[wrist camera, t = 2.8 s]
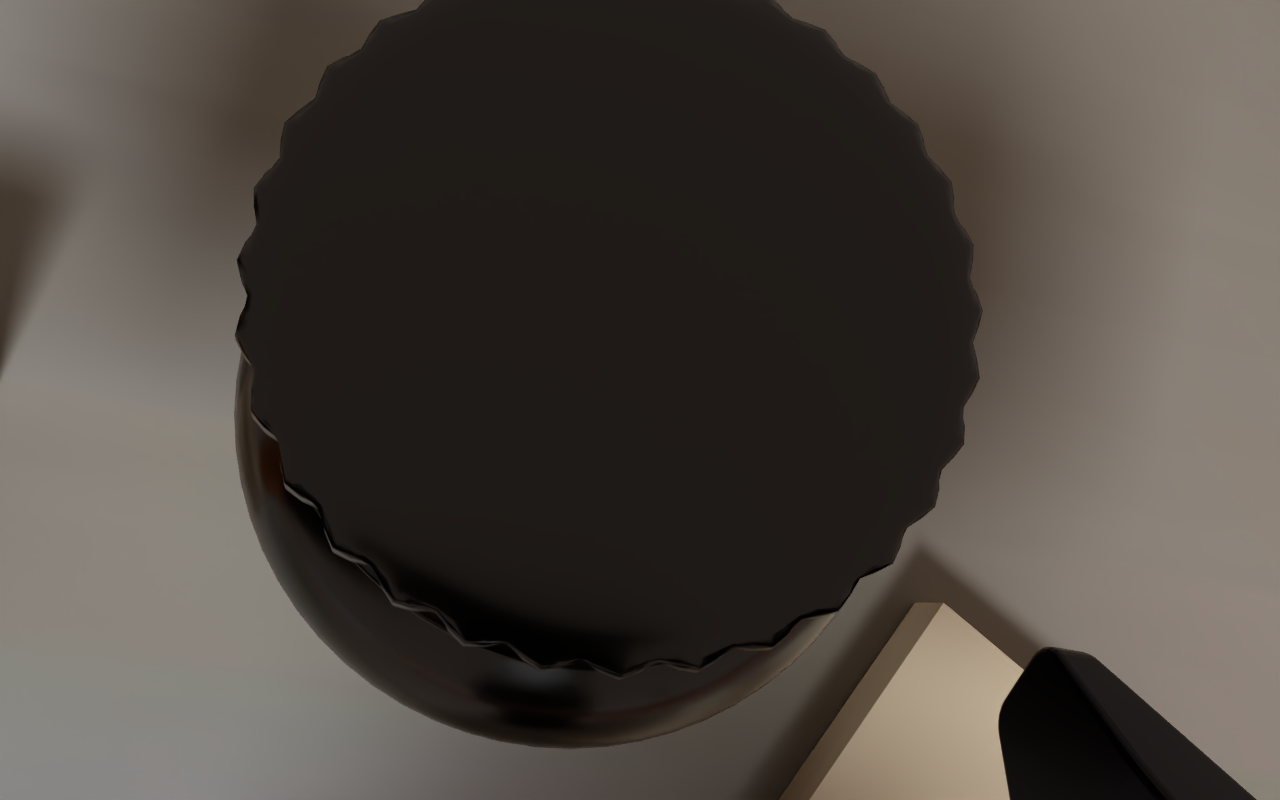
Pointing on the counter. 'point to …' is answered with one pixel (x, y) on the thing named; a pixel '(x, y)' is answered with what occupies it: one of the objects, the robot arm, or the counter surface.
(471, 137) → the supplement bottle
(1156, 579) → the counter surface
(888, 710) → the maple board
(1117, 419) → the counter surface
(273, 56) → the counter surface
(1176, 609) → the counter surface
